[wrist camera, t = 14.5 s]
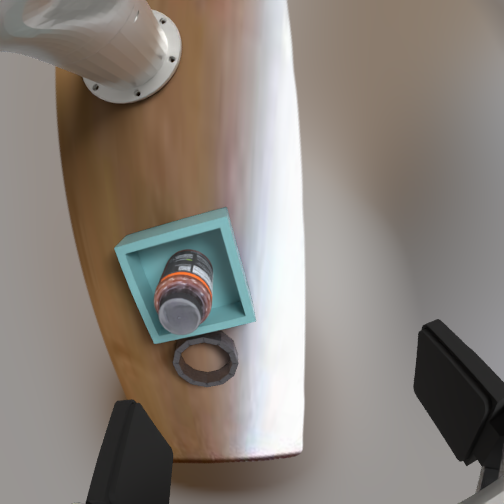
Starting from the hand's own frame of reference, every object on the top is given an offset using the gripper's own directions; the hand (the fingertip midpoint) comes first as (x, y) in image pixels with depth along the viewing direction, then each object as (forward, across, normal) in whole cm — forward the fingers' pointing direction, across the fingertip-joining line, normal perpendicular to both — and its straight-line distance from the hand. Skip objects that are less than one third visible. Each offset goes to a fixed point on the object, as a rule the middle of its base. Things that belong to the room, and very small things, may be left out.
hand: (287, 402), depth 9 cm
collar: (+30, +10, +19) cm, 37 cm away
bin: (+30, +8, +6) cm, 32 cm away
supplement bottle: (+30, +8, +6) cm, 31 cm away
